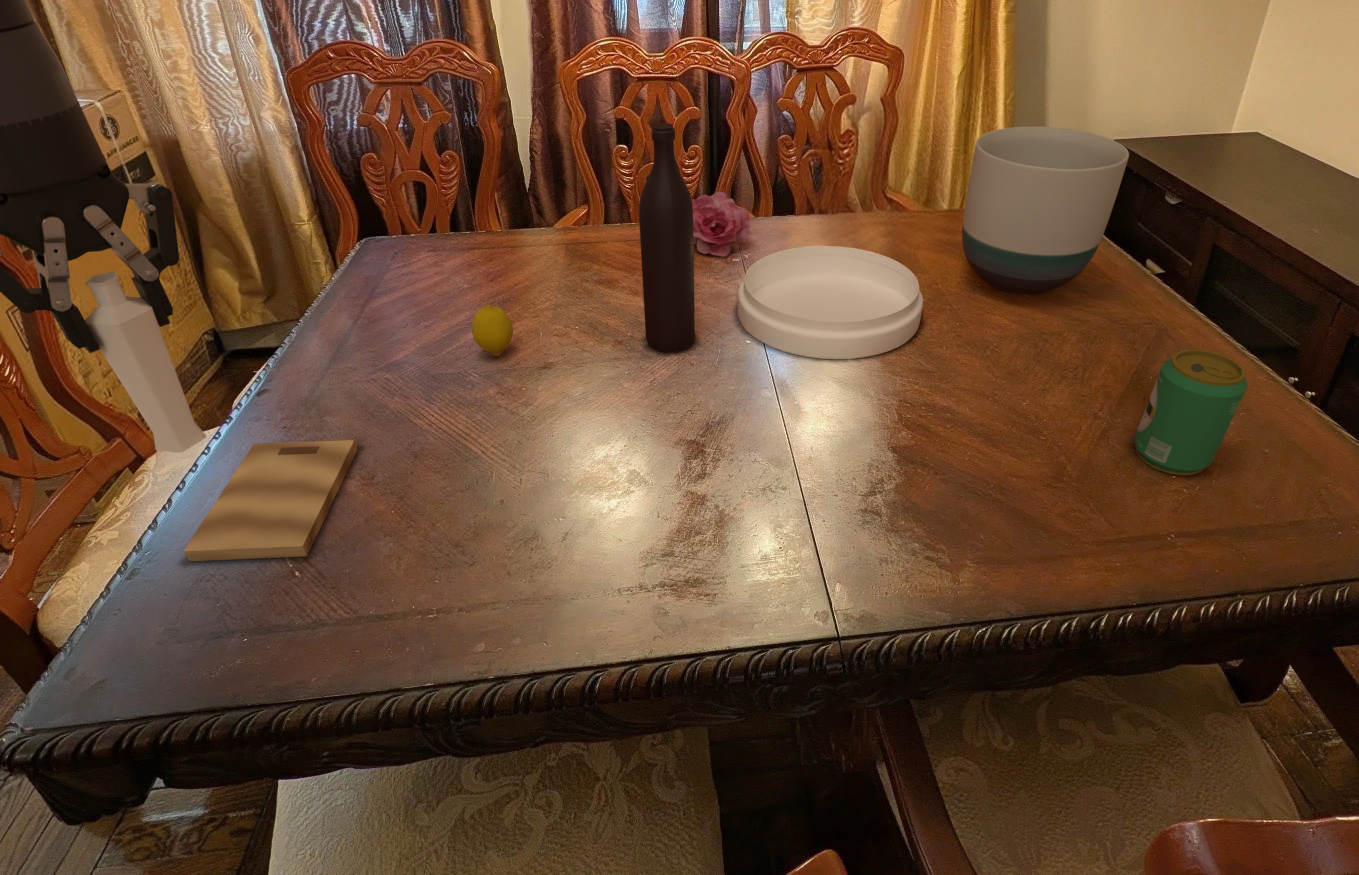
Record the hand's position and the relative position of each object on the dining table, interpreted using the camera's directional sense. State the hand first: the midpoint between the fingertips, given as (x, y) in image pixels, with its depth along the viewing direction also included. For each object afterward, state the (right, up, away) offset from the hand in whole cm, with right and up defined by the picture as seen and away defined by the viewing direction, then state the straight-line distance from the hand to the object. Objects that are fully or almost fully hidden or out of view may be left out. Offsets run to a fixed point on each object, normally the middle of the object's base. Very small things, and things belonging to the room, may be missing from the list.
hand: (127, 334), depth 62 cm
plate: (+65, +10, +59) cm, 88 cm away
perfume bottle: (0, -8, +6) cm, 11 cm away
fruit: (+17, +4, +52) cm, 54 cm away
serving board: (-1, -15, +27) cm, 31 cm away
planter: (+97, +16, +65) cm, 117 cm away
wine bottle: (+42, +6, +53) cm, 68 cm away
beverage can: (+99, -10, +29) cm, 104 cm away
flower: (+49, +26, +80) cm, 97 cm away
